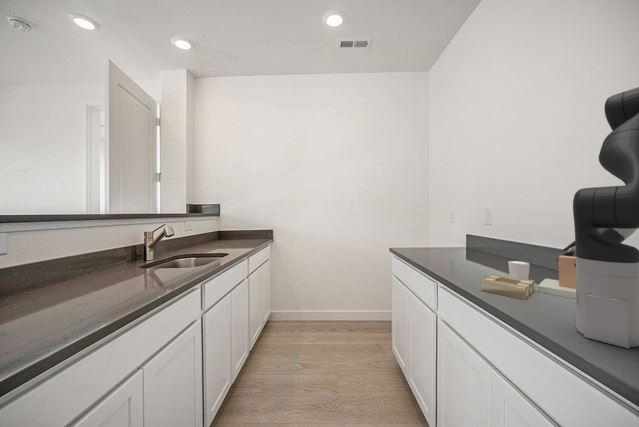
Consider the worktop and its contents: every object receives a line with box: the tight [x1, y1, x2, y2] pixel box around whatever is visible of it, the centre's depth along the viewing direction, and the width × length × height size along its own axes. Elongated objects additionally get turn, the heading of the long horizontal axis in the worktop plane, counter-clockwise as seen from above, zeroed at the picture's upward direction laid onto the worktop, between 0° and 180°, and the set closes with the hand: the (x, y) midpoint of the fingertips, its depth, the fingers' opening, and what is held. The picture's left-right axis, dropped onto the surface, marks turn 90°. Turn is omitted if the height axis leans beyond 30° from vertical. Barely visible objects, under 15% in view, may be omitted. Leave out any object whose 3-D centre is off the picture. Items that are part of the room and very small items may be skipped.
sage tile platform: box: [537, 278, 576, 300], centre depth 84 cm, size 14×14×2 cm
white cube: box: [507, 260, 531, 279], centre depth 100 cm, size 7×7×7 cm
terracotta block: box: [558, 255, 576, 289], centre depth 84 cm, size 4×4×10 cm
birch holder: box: [480, 273, 536, 300], centre depth 86 cm, size 14×12×4 cm
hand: (568, 265), depth 84 cm, fingers open, 8 cm apart
